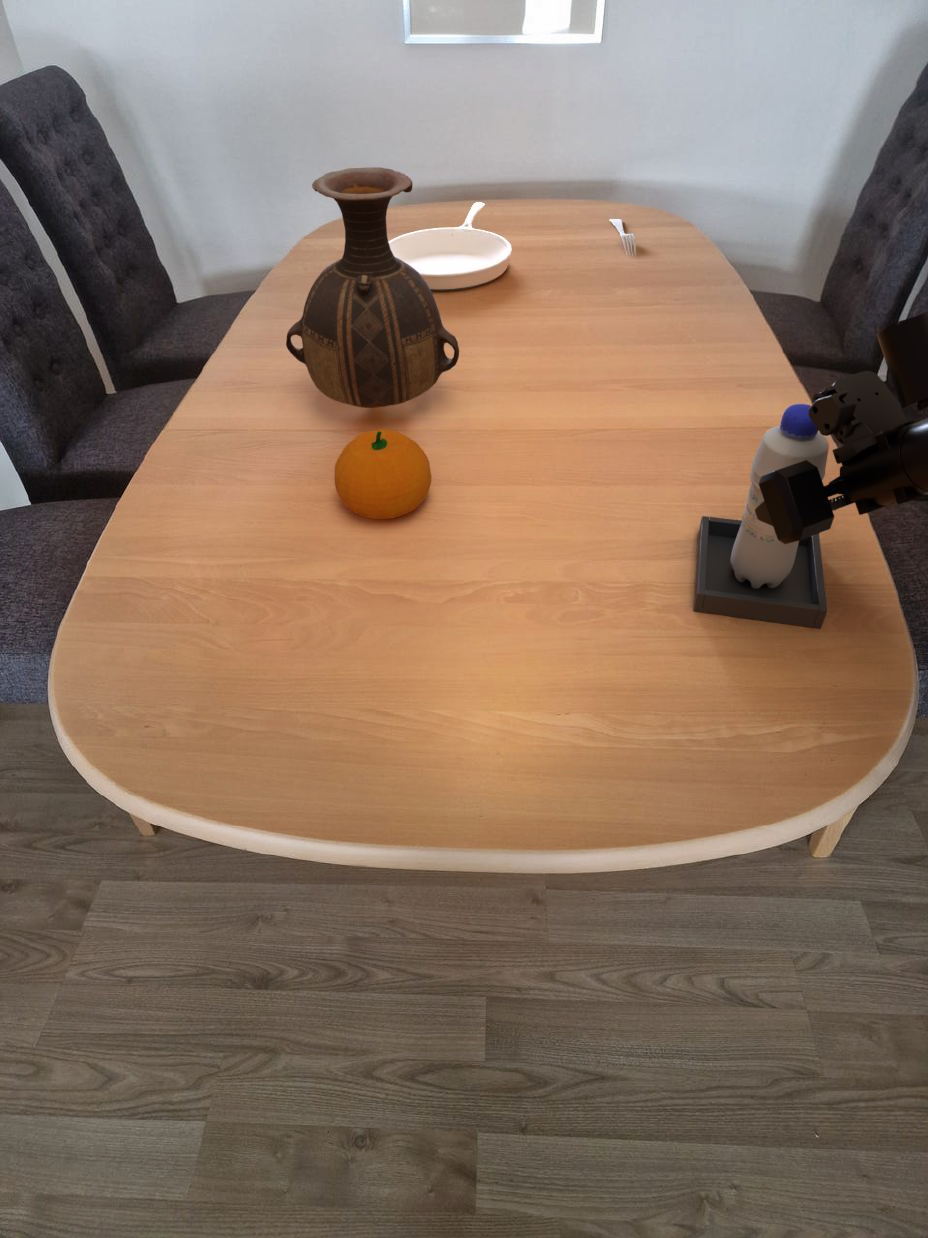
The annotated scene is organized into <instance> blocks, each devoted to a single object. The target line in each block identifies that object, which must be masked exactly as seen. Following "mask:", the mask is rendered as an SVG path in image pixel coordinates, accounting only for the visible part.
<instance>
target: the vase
mask: <svg viewBox="0 0 928 1238" xmlns="http://www.w3.org/2000/svg"><path fill="white" fill-rule="evenodd" d="M413 183H414V182H413V181H412V179H411V178H410V177H409V176H408V175H406V174H405V173H403V172H400V171H397V170H394V169H391V168H385V167H380V166H378V167H377V166H375V167H374V166H369V167H368V166H367V167H366V166H365V167H347V168H345V169H340V170H335V171H330V172H327V173H325V174H323V175H322V176H319V177H318V178H316V179H315V180H314V181H313V182H312V183H311V189H313V190H314V192H316V193H319V194H320V195H323V196H324V197H326V198H331V199H333V200H334V201H335V202H336V204H337V205H338V207H339V210H340V213H341V216H342V217H341V218H342V221H343V226H344V247H343V255H342V257H341V258H340V259H338V260H336V261H335V262H333V263H331V264H330V265H328V266H326V268H324V269H323V270H322V271H321V272H320V274H319V275H318V276H317V278H316V279H315V281H314V282H313V283H312V285H311V287H310V289H309V292H308V293H307V297H306V299H305V302H304V306H303V312H302V316H301V318H300V319H299V320H297V321H296V322H295V323H294V324H293V325H292V326H291V327H290V328H289V330H288V331H287V335H286V340H285V341H286V342H285V345H286V349H287V351H288V352H289V353H290V354H291V355H292V356H293V357H294V358H295V359H296V360H297V361H298V362H300V363H302V364H304V365H305V367H306V369H307V371H308V374H309V377H310V379H311V380H312V382H313V384H314V385H315V387H316V388H317V390H318V391H319V392H320V393H322V394H323V395H324V396H325V397H327V398H329V400H332V401H335V402H338V403H341V404H345V405H348V406H353V407H357V408H365V409H373V408H374V409H375V408H385V407H391V406H392V407H393V406H397V405H399V404H404V403H406V402H409V401H412V400H413V399H416V398H417V397H419V396H421V395H422V394H425V392H427V391H429V390H430V389H431V388H432V387H433V386H435V384H436V383H437V382H438V380H439V379H440V376H442V374H443V373H445V372H448V371H451V369H453V368H454V367H455V366H456V365H457V363H458V360H459V357H460V347H459V343H458V340H457V338H456V336H455V335H453V334H452V333H450V332H449V331H448V330H447V329H446V328H445V326H444V324H443V322H442V318H441V314H440V310H439V306H438V304H437V301H436V299H435V296H434V294H433V292H432V290H430V288H429V286H428V285H427V283H426V282H425V280H424V279H423V277H422V276H421V275H420V274H419V272H418V271H416V270H415V269H414V268H413V267H411V266H410V265H408V264H407V263H405V262H403V261H402V260H400V259H398V258H396V257H395V256H394V255H393V253H392V251H391V249H390V245H389V238H388V229H387V227H388V226H387V213H388V208H389V204H390V201H391V199H392V198H393V197H394V196H396V195H399V194H400V193H402V192H403V193H411V192H412V191H413ZM293 336H298V337H300V339H301V342H302V347H301V348H299V347H298V348H297V347H296V346H294V344H293V342H292V337H293ZM445 344H448V345H449V346H451V348H452V349H453V357H451V358H450V357H448V356H447V354H446V352H445Z"/></svg>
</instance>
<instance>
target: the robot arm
mask: <svg viewBox="0 0 928 1238" xmlns="http://www.w3.org/2000/svg"><path fill="white" fill-rule="evenodd" d="M876 338H877V341H878V343H879V346H880V350H881V352H882V355H883V358H884V362H885V364H886V367H887V370H888V372H889V376H890V378H891V382H892V384H893V387H894V390H895V393H896V396H897V398H896V397H895V396H894V395H893V393H892V392H891V390H890V389H889V388H888V386H887V385H886V384H885V383H884V381H883V380H882V379H881V377H880V376H879V375H878V374H877V373H876V372H873V371H870V370H864V371H860V372H857V373H853V374H851V375H847V376H843V377H840V378H838V379H836V380H835V381H834V382H833V383H832V384H831V385H830V386H827V387H825V388H824V389H823V390H822V391H819V392H816V393H814V394H813V396H812V402H813V403H812V404H811V405H810V406H811V407H810V408H809V418H810V419H811V420H812V422H813V423H814V425H815V426H816V428H817V429H818V432H819V433H821V434H822V435H823V436H824V437H828V436H831V435H833V437H834V438H835V439H836V441H837V442H839V443H840V444H842V445H841V446H839V447H837V448H834V449H832V450H831V451H832V454H833V457H834V459H835V462H836V464H838V465H841V466H840V467H839V476H837V477H835V478H834V479H832V480H831V481H829V482H828V483H827V484H826V485H824V482H823V480H822V479H821V476H820V473H819V470H818V468H817V467H816V466H815V465H813V464H812V463H810V462H809V461H807V460H805V461H802V462H799V463H796V464H793V465H790V466H787V467H784V468H782V469H779V470H776V471H773V472H771V473H768V474H766V475H763V476H761V479H760V481H759V487H760V490H761V493H762V496H763V498H764V501H763V502H762V503H761V504H760V505H759V506H758V507H757V508H756V509H755V513H756V516H757V519H758V520H760V521H762V522H764V523H767V524H769V525H771V526H773V527H774V530H775V533H776V536H777V539H778V540H779V541H780V542H782V543H784V544H788V543H792V542H796V541H800V540H802V539H805V538H808V537H810V536H813V535H815V534H818V533H819V534H821V533H823V532H826V531H829V530H831V529H832V525H833V522H834V519H835V514H834V511H836V510H839V509H842V508H844V507H847V506H850V505H853V504H855V506H856V511H857V513H858V515H859V516H862V515H865V514H869V513H872V512H874V511H877V510H879V509H882V508H885V507H886V506H891V505H894V504H897V505H901V504H906V503H909V502H911V501H914V500H917V499H919V498H922V497H924V496H927V495H928V417H926V418H924V419H923V417H921V416H920V417H918V418H916V419H912V420H910V421H908V420H907V418H906V416H905V414H904V412H903V411H902V409H905V408H909V407H911V406H913V405H916V408H917V411H918V412H921V411H924V410H927V409H928V310H927V311H925V312H923V313H921V314H918V315H916V316H913V317H909V318H906V319H902V320H899V321H897V322H894V323H892V324H891V325H889V326H887V327H885V328H883V329H881V330H880V331H879V332H878V333H877V334H876ZM836 495H839V496H836ZM833 496H836V497H833ZM830 497H833V498H830ZM829 498H830V499H829Z"/></svg>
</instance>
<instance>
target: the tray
mask: <svg viewBox="0 0 928 1238" xmlns="http://www.w3.org/2000/svg"><path fill="white" fill-rule="evenodd" d="M741 523H742V519H741V520H740V519H733V518H724V517H715V516H704V515H702V516H701V519H700V524H699V529H698V533H697V551H696V565H695V566H696V567H695V579H694V580H695V581H694V595H693V612H697V613H703V614H711V615H718V616H725V617H732V618H739V619H747V620H754V621H760V622H768V623H774V624H775V623H776V624H784V625H789V626H790V625H791V626H798V627H805V628H811V629H819V630H821V629H822V627H823V625H824V621H825V618H826V617H827V614H828V604H827V603H828V602H827V595H826V593H827V592H826V584H825V576H824V567H823V560H822V557H823V556H822V549H821V540H820V533H818V534H815V535H813V536H810V537H808V538H805V539H802V540H800V541H799V543H798V547H797V552H796V557H795V561H794V564H793V567H792V569H791V572H790V574H789V575H788V576H787V577H786V578H785V579H784V580H783V581H782V582H781V583H780V584H779V585H778V586H777V587H775V588H769V587H768V586H767V583H766V584H763V585H762V586H761V587H760V588H758V589H754V588H752V587H751V582H750V581H749V580H748V579H746V580H745V581H744V582H739V581H738V580H737V579H736V577H735V573H734V570H733V569H732V567H731V554H732V549H733V546H734V543H735V540H736V537H737V534H738V532H739V529H740V526H741Z"/></svg>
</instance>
